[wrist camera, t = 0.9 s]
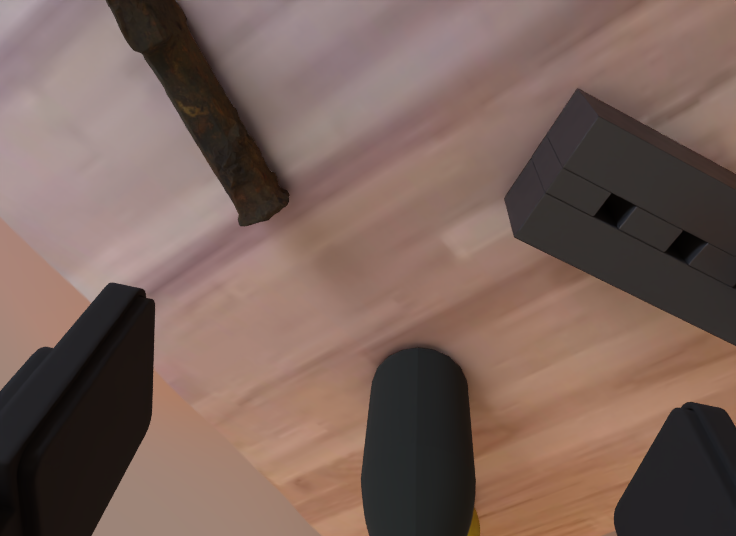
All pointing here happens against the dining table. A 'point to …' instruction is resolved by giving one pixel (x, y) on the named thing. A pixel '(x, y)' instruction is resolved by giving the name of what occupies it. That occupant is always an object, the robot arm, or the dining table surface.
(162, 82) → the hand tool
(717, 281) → the rack
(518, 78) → the dining table surface
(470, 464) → the wine bottle
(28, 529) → the robot arm
